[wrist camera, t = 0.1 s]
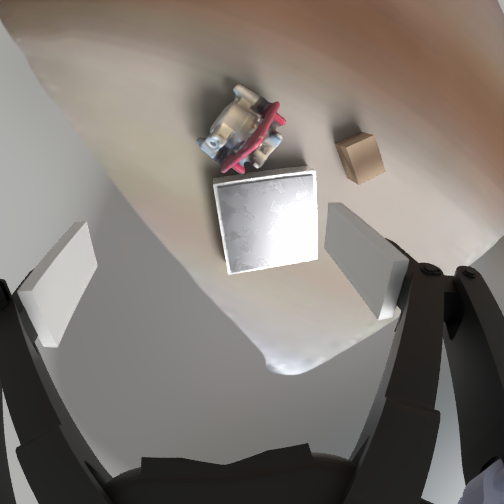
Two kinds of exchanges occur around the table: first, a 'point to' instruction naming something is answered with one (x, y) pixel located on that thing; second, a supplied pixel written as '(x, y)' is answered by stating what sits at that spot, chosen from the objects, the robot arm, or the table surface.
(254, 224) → the stand
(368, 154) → the brown rectangular block
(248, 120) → the brake caliper
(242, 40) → the table surface
